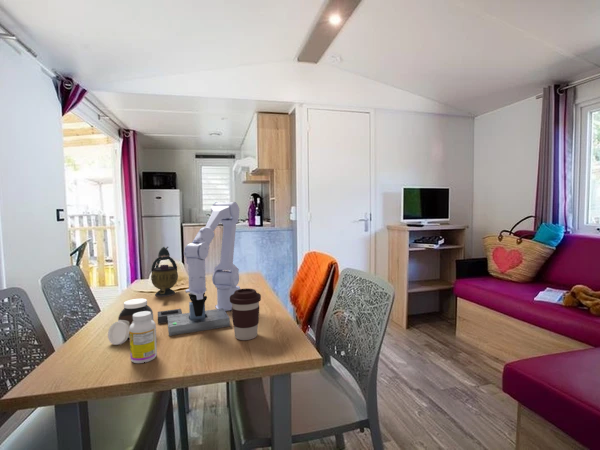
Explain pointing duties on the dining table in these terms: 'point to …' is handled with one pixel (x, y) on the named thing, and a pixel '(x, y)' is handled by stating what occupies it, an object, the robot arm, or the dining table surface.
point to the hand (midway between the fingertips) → (198, 314)
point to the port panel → (197, 322)
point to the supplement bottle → (142, 338)
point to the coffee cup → (245, 313)
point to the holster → (163, 315)
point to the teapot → (164, 274)
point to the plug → (192, 313)
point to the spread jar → (127, 320)
